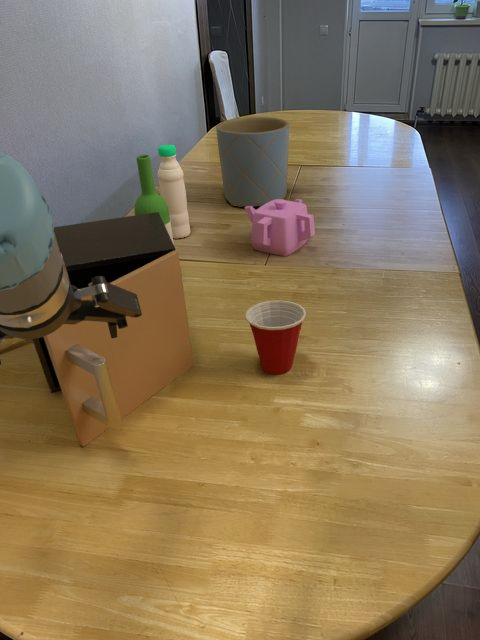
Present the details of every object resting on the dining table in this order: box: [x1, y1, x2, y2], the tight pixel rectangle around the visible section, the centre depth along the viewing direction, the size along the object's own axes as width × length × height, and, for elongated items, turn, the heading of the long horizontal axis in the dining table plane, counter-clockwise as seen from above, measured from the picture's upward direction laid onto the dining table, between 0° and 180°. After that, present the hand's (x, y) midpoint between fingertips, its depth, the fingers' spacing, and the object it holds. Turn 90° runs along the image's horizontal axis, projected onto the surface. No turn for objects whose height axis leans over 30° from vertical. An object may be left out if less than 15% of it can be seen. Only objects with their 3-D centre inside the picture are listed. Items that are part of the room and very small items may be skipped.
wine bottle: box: [134, 154, 175, 245], centre depth 119 cm, size 8×8×30 cm
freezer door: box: [43, 250, 195, 448], centre depth 82 cm, size 8×26×24 cm, turn 143°
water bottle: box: [157, 143, 191, 240], centre depth 144 cm, size 7×7×25 cm
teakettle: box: [244, 198, 316, 257], centre depth 140 cm, size 17×17×12 cm
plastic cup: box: [245, 299, 307, 376], centre depth 95 cm, size 11×11×12 cm
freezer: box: [31, 212, 177, 394], centre depth 97 cm, size 18×26×24 cm
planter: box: [215, 116, 290, 208], centre depth 168 cm, size 23×23×24 cm
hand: (55, 340), depth 63 cm, fingers open, 13 cm apart
